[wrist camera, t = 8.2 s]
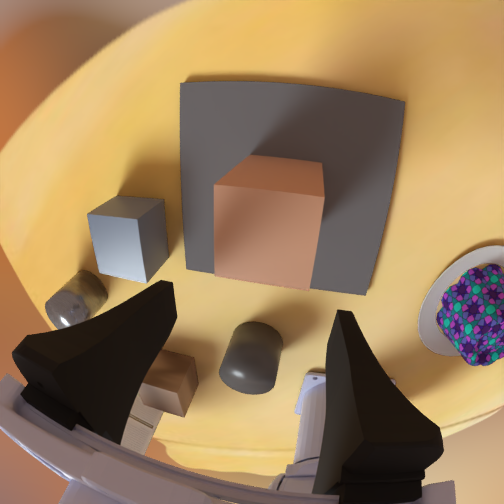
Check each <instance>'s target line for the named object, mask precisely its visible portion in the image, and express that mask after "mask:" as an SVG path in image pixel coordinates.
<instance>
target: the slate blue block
mask: <svg viewBox="0 0 504 504" xmlns="http://www.w3.org/2000/svg"><path fill="white" fill-rule="evenodd" d="M87 217H88V222H89V227H90V233H91V238H92V242H93V247H94V252H95V256H96V260H97V265H98V269H99V273H102V274H106V275H111V276H115V277H119V278H124V279H128V280H133V281H137V282H142V283H148V282H149V280H150V279H151V278H152V277H153V276H154V274H155V273H156V272H157V271H158V270H159V268H160V267H161V266H162V265H163V264H164V263H165V261H166V260H167V259H168V258H169V252H168V242H167V231H166V219H165V206H164V199H154V198H141V197H128V196H115V197H114V198H112V199H110V200H109V201H107V202H105V203H104V204H102V205H100V206H99V207H97V208H96V209H94V210H92V211H91V212H89V213H88V214H87Z"/></svg>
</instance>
